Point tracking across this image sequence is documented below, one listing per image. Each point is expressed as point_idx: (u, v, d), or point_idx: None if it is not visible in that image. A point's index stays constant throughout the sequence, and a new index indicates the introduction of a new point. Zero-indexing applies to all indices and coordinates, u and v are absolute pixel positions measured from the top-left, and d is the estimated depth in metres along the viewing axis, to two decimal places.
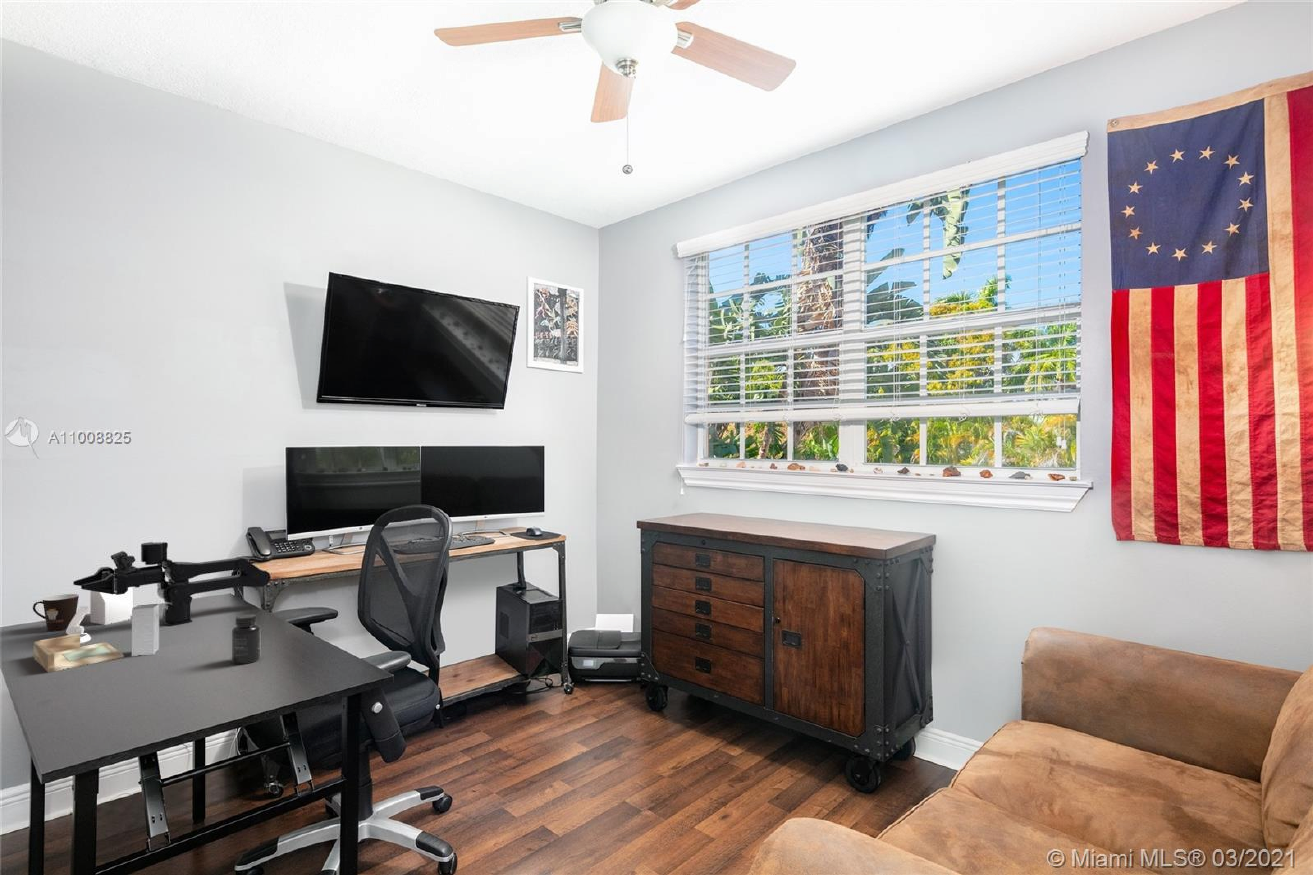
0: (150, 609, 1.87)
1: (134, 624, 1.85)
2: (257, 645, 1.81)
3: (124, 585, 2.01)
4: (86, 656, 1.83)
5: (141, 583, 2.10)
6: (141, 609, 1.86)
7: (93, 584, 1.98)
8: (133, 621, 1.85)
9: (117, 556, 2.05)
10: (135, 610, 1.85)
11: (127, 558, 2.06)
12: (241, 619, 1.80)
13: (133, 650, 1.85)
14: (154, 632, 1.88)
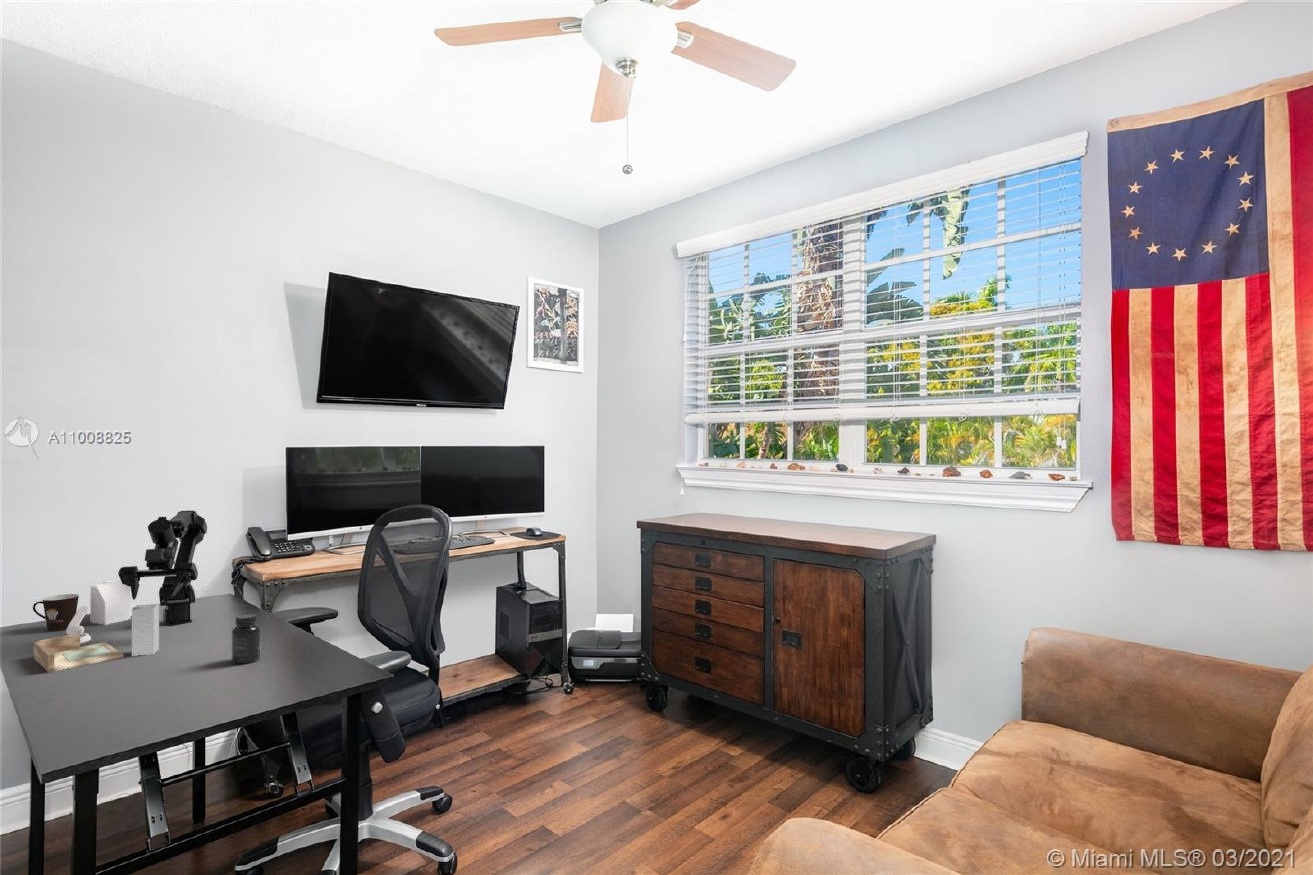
0: (150, 609, 1.87)
1: (134, 624, 1.85)
2: (257, 645, 1.81)
3: (196, 570, 2.06)
4: (86, 656, 1.83)
5: None
6: (141, 609, 1.86)
7: (176, 587, 1.99)
8: (133, 621, 1.85)
9: (162, 556, 1.98)
10: (135, 610, 1.85)
11: (173, 551, 2.00)
12: (241, 619, 1.80)
13: (133, 650, 1.85)
14: (154, 632, 1.88)
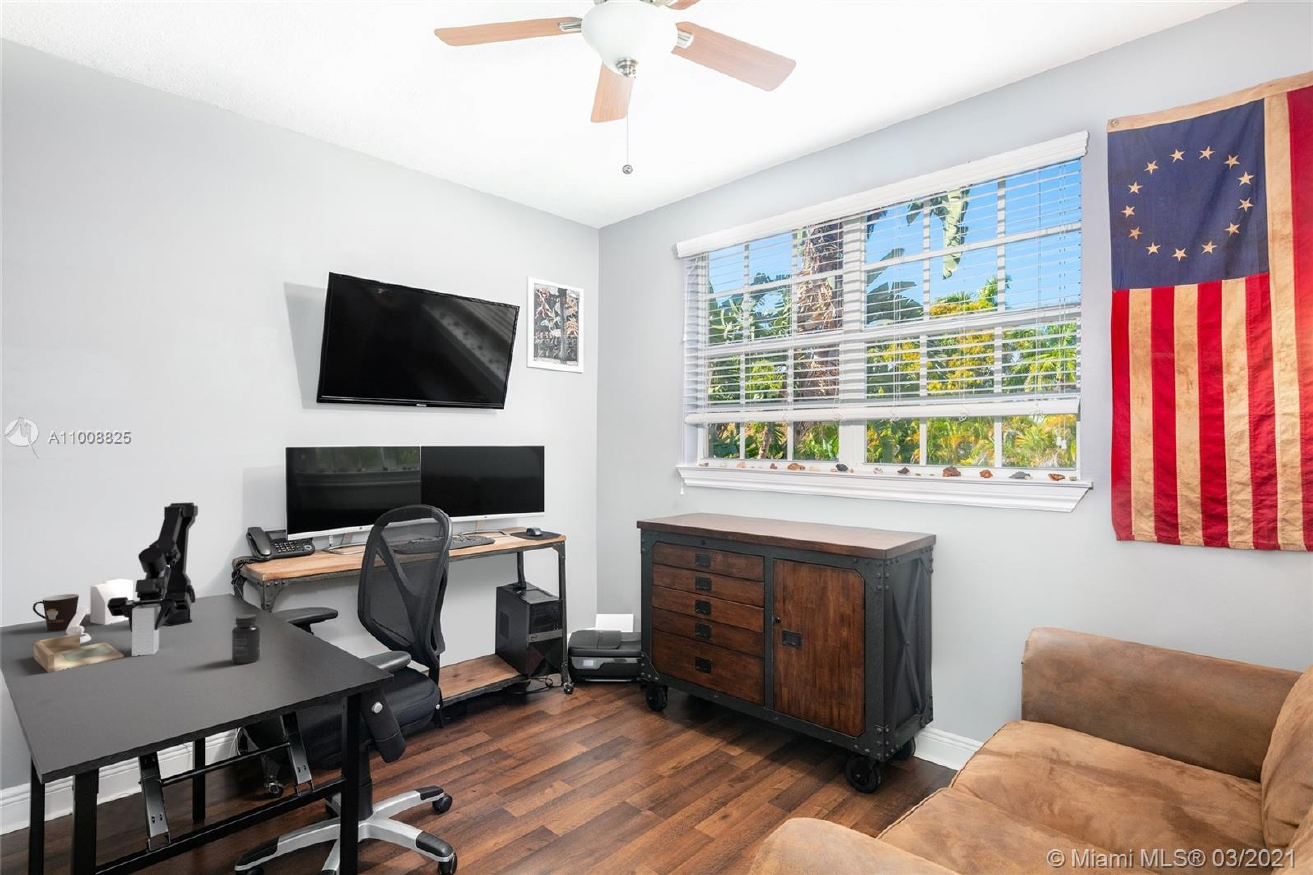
0: (150, 609, 1.87)
1: (134, 624, 1.85)
2: (257, 645, 1.81)
3: (189, 599, 1.97)
4: (86, 656, 1.83)
5: None
6: (141, 609, 1.86)
7: (161, 619, 1.90)
8: (133, 621, 1.85)
9: (154, 586, 1.89)
10: (135, 610, 1.86)
11: (165, 581, 1.92)
12: (241, 619, 1.80)
13: (133, 650, 1.85)
14: (154, 632, 1.88)
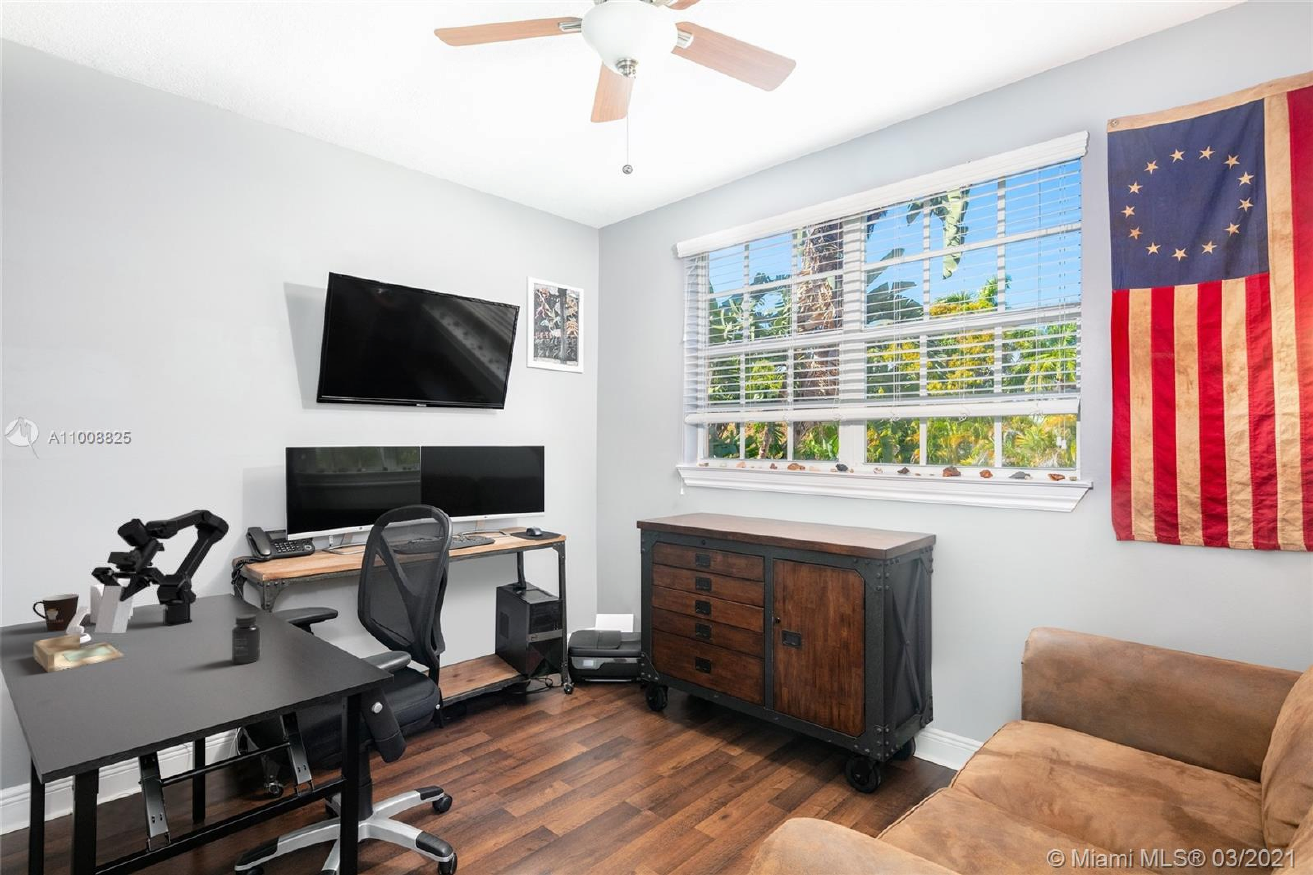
0: (119, 587, 1.94)
1: (103, 601, 1.93)
2: (257, 645, 1.81)
3: (161, 574, 2.00)
4: (86, 656, 1.83)
5: (151, 560, 2.06)
6: (112, 586, 1.94)
7: (128, 592, 1.95)
8: (103, 597, 1.94)
9: (121, 559, 1.95)
10: (107, 587, 1.94)
11: (134, 555, 1.97)
12: (241, 619, 1.80)
13: (97, 626, 1.91)
14: (117, 610, 1.93)
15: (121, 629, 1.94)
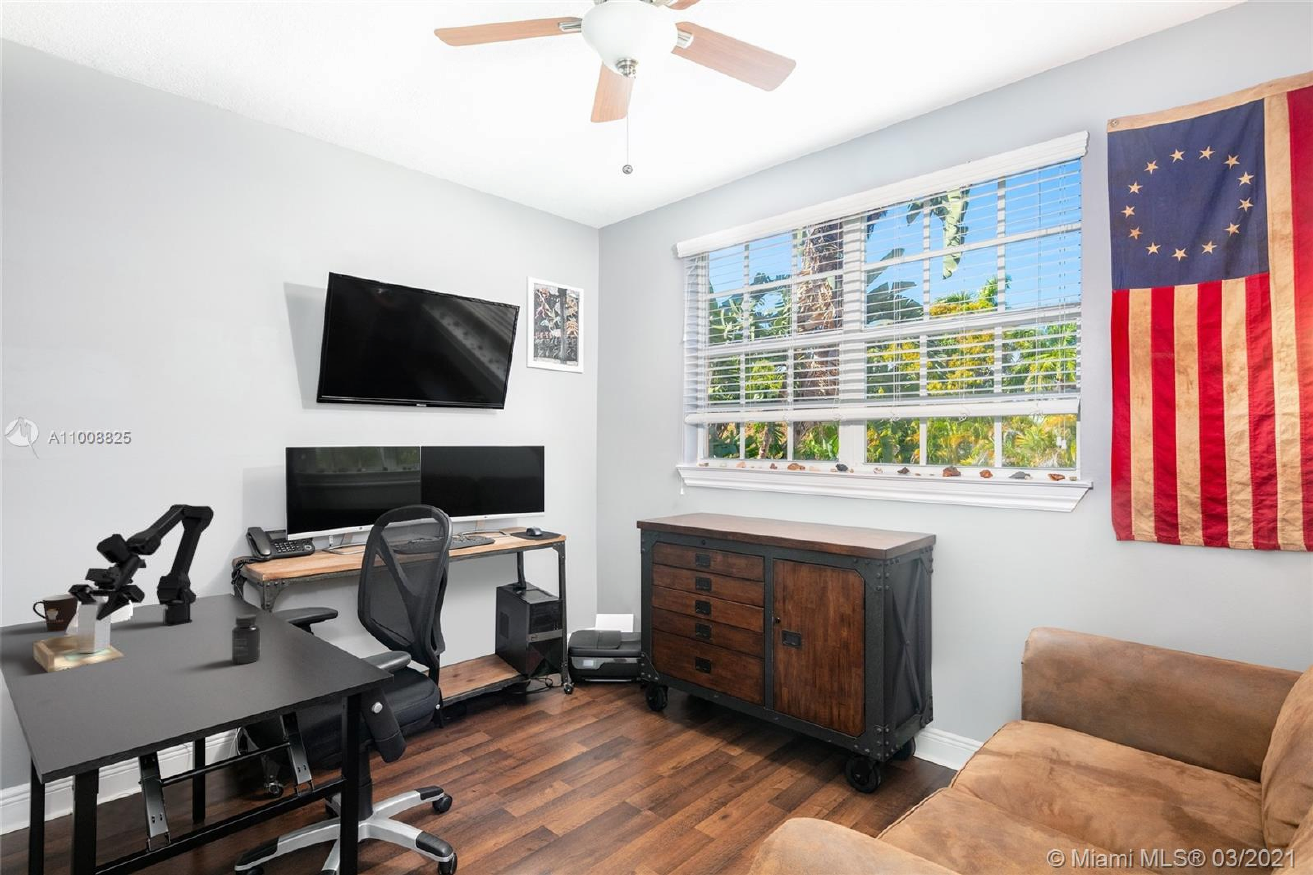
0: (93, 606, 1.86)
1: (80, 620, 1.86)
2: (257, 645, 1.81)
3: (140, 592, 1.93)
4: (86, 656, 1.83)
5: (131, 577, 1.98)
6: (86, 605, 1.86)
7: (106, 610, 1.88)
8: (79, 617, 1.86)
9: (100, 576, 1.88)
10: (81, 606, 1.86)
11: (113, 572, 1.89)
12: (241, 619, 1.80)
13: (78, 646, 1.85)
14: (96, 630, 1.86)
15: (104, 646, 1.89)
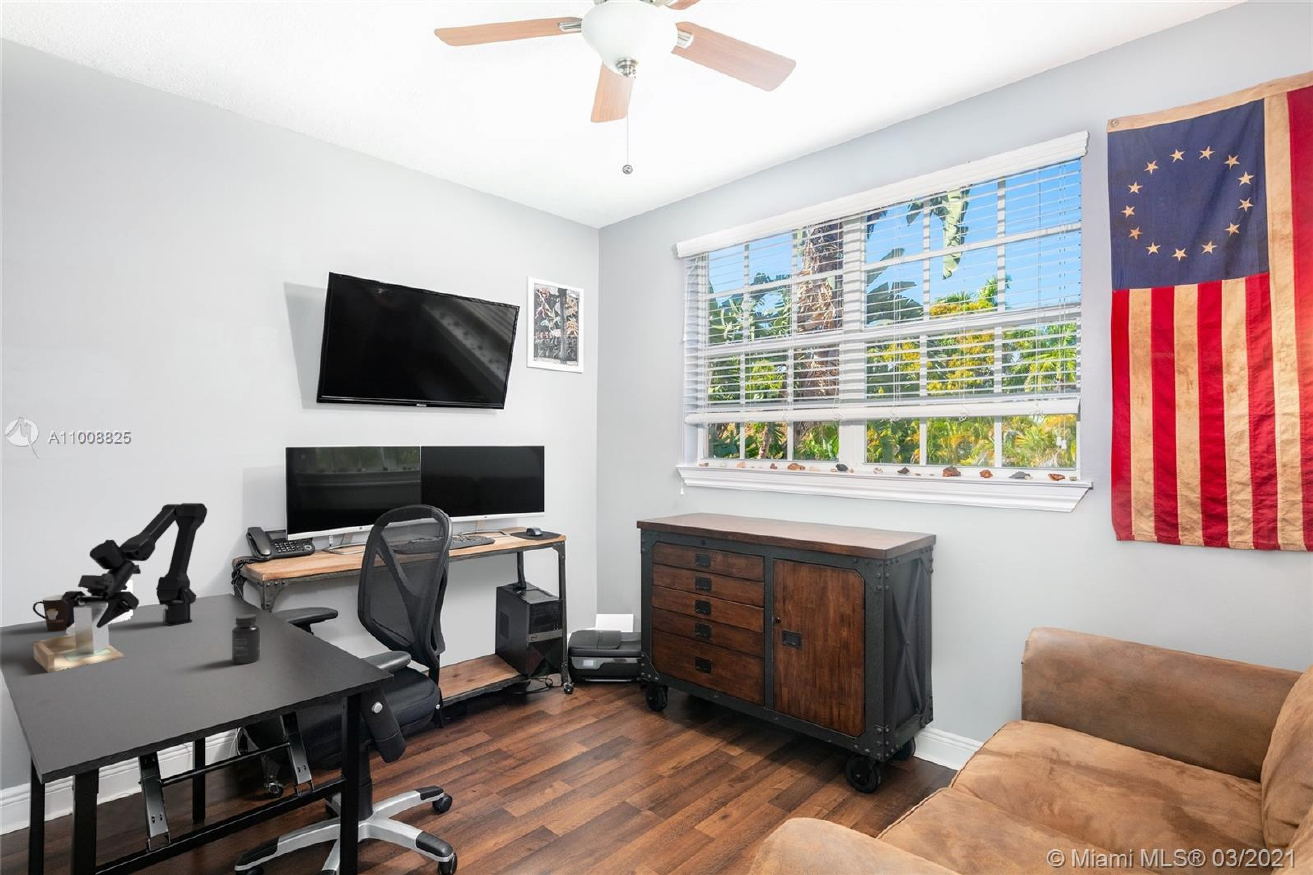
0: (88, 609, 1.84)
1: (76, 622, 1.85)
2: (257, 645, 1.81)
3: (134, 599, 1.91)
4: (86, 656, 1.83)
5: (125, 583, 1.96)
6: (81, 608, 1.85)
7: (105, 617, 1.86)
8: (75, 619, 1.85)
9: (93, 583, 1.85)
10: (76, 608, 1.84)
11: (106, 579, 1.87)
12: (241, 619, 1.80)
13: (77, 648, 1.85)
14: (94, 631, 1.85)
15: (103, 646, 1.88)
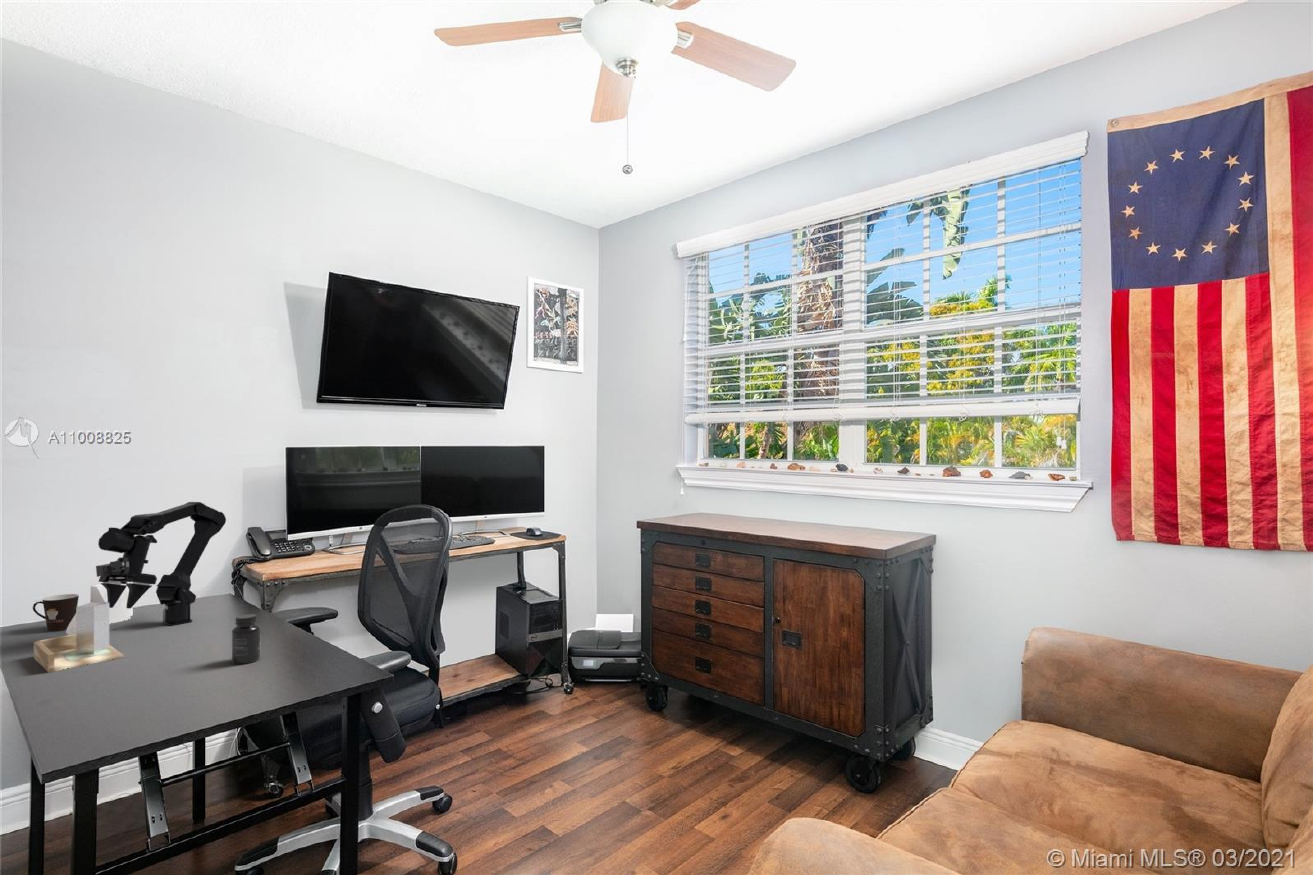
0: (91, 608, 1.85)
1: (78, 622, 1.85)
2: (257, 645, 1.81)
3: (148, 577, 1.99)
4: (86, 656, 1.83)
5: (145, 558, 2.05)
6: (84, 607, 1.85)
7: (131, 599, 1.98)
8: (77, 618, 1.85)
9: (105, 573, 1.95)
10: (79, 608, 1.85)
11: (113, 567, 1.96)
12: (241, 619, 1.80)
13: (77, 647, 1.85)
14: (95, 631, 1.86)
15: (104, 646, 1.88)
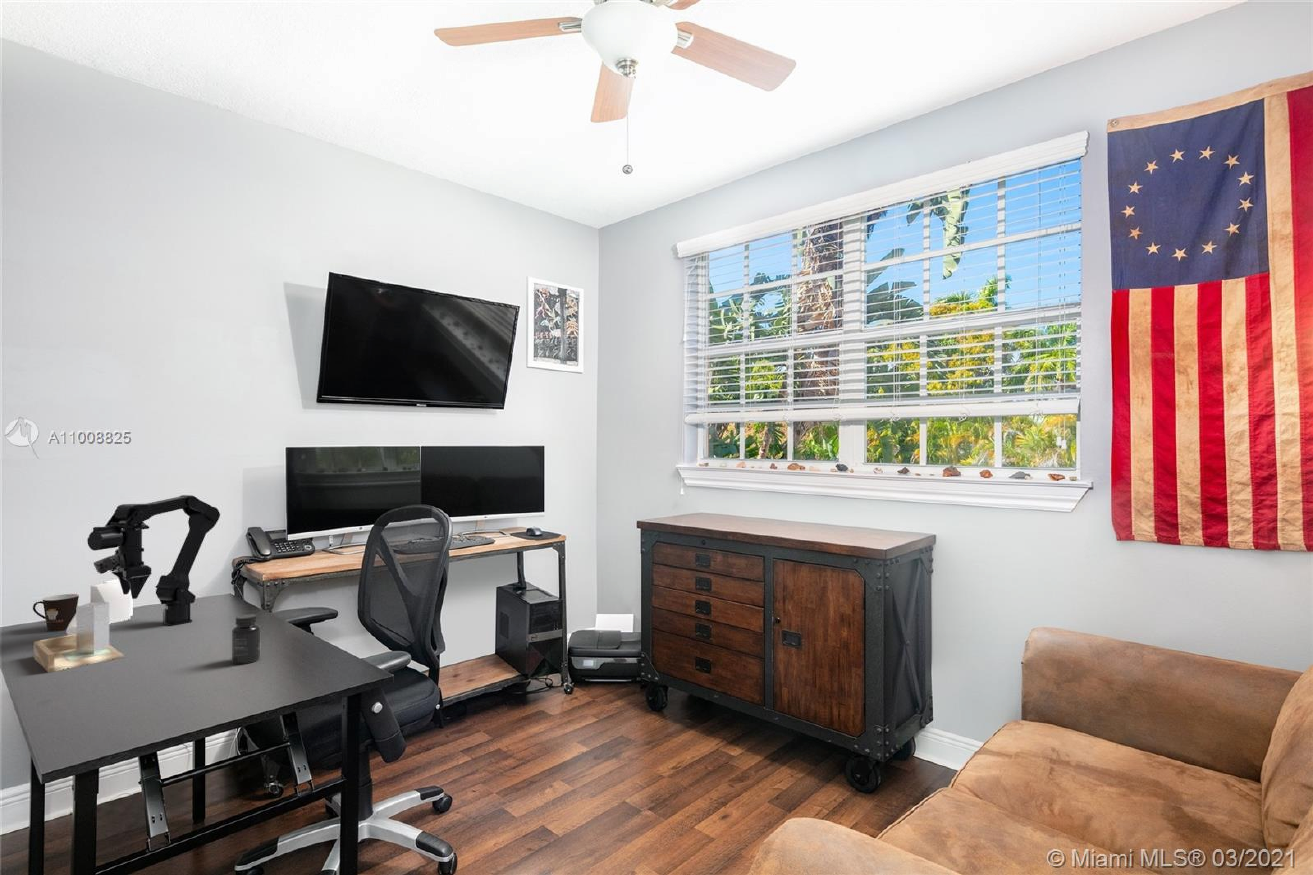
0: (91, 608, 1.85)
1: (78, 622, 1.85)
2: (257, 645, 1.81)
3: (141, 570, 1.99)
4: (86, 656, 1.83)
5: (139, 547, 2.05)
6: (84, 607, 1.85)
7: (133, 590, 2.01)
8: (77, 618, 1.85)
9: (100, 571, 1.98)
10: (79, 608, 1.85)
11: (105, 565, 1.97)
12: (241, 619, 1.80)
13: (77, 647, 1.85)
14: (95, 631, 1.86)
15: (104, 646, 1.88)
